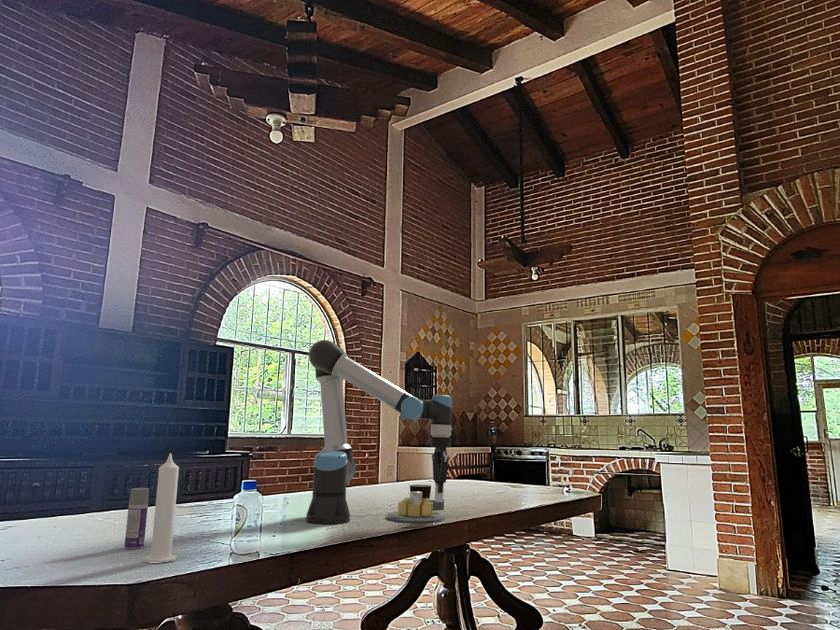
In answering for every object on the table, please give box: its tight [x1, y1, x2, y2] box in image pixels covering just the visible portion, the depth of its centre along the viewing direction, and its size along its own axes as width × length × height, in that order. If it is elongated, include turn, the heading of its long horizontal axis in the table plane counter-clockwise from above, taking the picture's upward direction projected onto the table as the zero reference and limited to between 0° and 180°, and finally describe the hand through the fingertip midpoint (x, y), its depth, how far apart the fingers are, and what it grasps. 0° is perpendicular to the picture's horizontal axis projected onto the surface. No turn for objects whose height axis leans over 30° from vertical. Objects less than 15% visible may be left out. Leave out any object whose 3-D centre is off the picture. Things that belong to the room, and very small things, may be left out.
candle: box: [143, 453, 180, 562], centre depth 144 cm, size 7×7×25 cm
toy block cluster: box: [397, 497, 445, 517], centre depth 218 cm, size 19×12×5 cm, turn 129°
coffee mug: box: [409, 484, 432, 500], centre depth 234 cm, size 12×9×10 cm
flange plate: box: [386, 491, 446, 524], centre depth 216 cm, size 21×21×9 cm
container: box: [123, 487, 150, 550], centre depth 157 cm, size 5×5×15 cm
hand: (438, 501), depth 217 cm, fingers closed
